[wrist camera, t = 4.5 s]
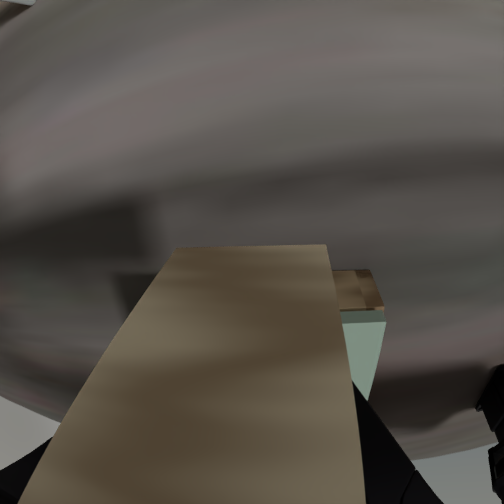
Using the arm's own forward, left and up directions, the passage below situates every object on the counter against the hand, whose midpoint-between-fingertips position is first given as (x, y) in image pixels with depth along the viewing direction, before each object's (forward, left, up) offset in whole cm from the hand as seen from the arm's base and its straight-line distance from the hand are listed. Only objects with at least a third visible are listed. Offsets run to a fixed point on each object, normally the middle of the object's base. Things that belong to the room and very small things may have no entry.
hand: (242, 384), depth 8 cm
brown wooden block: (0, 0, -3) cm, 3 cm away
